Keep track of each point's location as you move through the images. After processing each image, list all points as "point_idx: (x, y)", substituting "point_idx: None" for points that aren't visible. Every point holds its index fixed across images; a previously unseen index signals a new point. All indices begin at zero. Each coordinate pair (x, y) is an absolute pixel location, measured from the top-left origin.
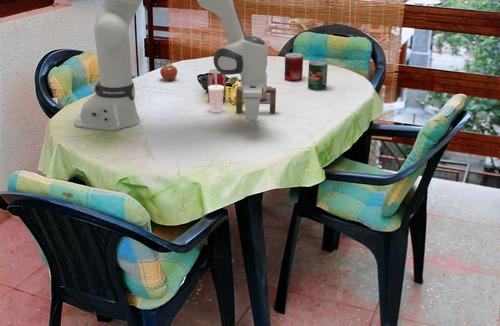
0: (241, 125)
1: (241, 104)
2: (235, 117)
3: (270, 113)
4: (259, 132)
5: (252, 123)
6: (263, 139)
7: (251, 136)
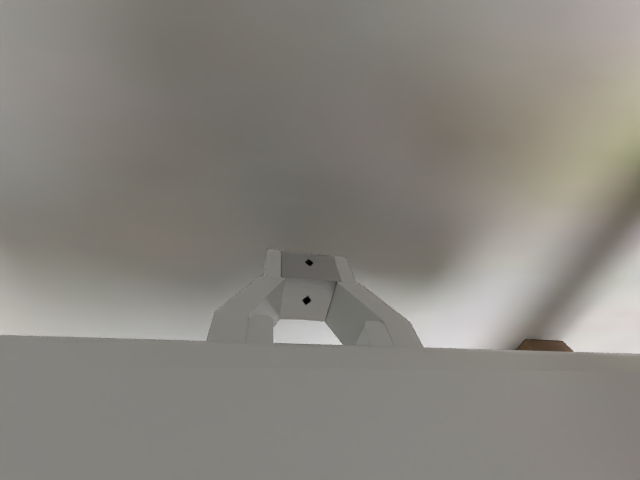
0: (376, 153)
1: None
2: (597, 116)
3: (524, 343)
4: (196, 280)
5: (264, 268)
6: (35, 299)
7: (78, 218)
